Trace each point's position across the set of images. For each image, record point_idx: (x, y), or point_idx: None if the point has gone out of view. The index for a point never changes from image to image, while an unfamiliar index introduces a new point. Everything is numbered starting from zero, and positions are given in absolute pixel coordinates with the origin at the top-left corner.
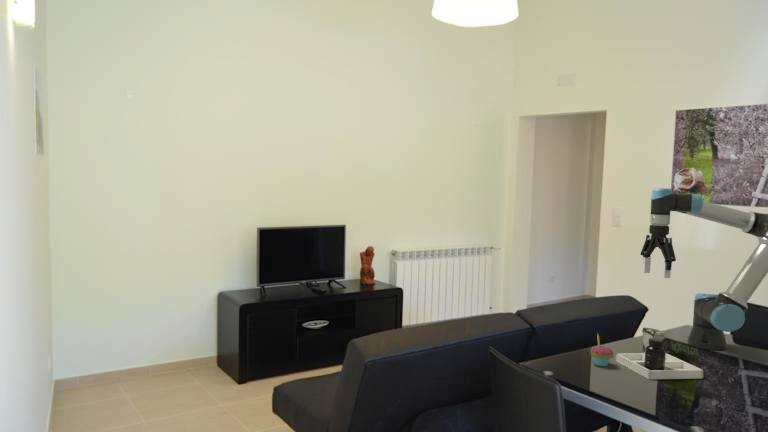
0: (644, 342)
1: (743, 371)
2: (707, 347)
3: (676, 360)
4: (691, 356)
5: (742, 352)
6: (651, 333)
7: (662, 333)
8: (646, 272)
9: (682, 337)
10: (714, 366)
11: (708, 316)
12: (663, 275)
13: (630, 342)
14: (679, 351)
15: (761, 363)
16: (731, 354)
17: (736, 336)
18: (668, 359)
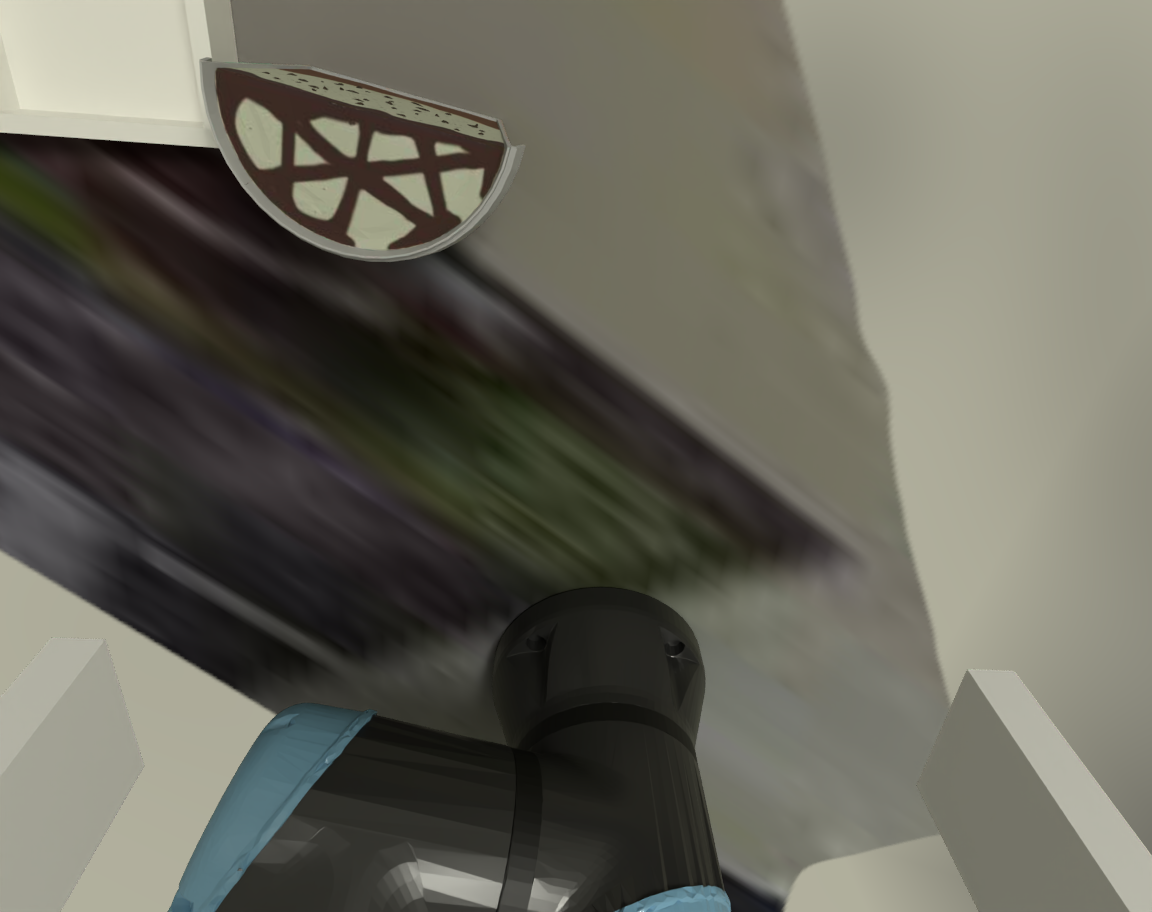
0: (467, 122)
1: (63, 509)
2: (514, 626)
3: (55, 115)
4: (370, 424)
5: None
6: (318, 107)
7: (332, 242)
8: (948, 723)
9: (787, 658)
10: (144, 412)
11: (384, 751)
12: (56, 686)
13: (766, 211)
14: (490, 427)
15: (248, 698)
16: (416, 674)
17: (734, 895)
18: (172, 121)
